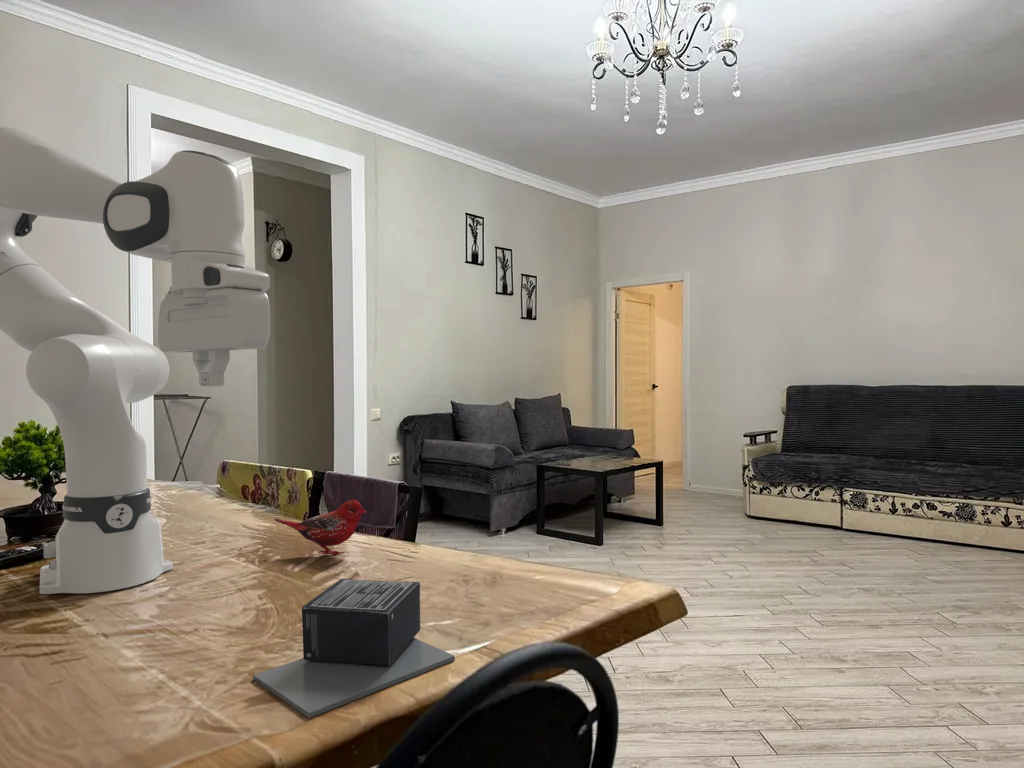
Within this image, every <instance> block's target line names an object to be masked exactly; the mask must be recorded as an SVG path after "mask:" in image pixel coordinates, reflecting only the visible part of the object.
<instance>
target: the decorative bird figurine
mask: <svg viewBox="0 0 1024 768" xmlns="http://www.w3.org/2000/svg"><path fill="white" fill-rule="evenodd" d="M363 514H367V511H366V510H365V509H364V508H363V507H362V504H361V503H360V502H359V501H358V500H355V499H351V500H348V501H345V502H343V503H342V504H341V505H340V506H339V507H337V509H335V510H334V511H331V512H328V513H323V514H320V515H316V516H312V517H311V518H308V519H305V520H303V521H301V522H296V521H292V520H291V521H290V520H285V519H280V518H274V521H276V522H278V523H280V524H283V525H285V526H287V527H290V528H293V529H294V530H296V531H297V532H298V533H299V534H300V535H301V536H302V537H303V538H304V539H305V540H308V541H311V542H312V543H315V544H317V545H319V546H320V547H321V548H322V549H324V550H320V551H319V552H318V554H320V553H322V554H323V555H333V556H337V555H341V554H346V552H344V551H340V552H339V551H337V550H332V549H330V548H329V547H333V546H339V545H340V544H343V543H344V542H345V543H346V541H348V540H349V539H350V538H351V537H352V536H353V535H354V534H355V531H356V530H357V527H358V524H359V522H360V520H361V518H362V515H363Z"/></svg>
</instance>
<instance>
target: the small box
mask: <svg viewBox="0 0 1024 768" xmlns="http://www.w3.org/2000/svg"><path fill="white" fill-rule="evenodd" d="M301 625H302V652H303V653H302V654H303V658H304V660H315V661H331V662H345V663H359V664H372V665H386V666H390V665H391V664H392V663H393V662H394V661H395V659H396V658H397V657H398V656H399V654H400V653H401V652H402V651H403V650H404V648H405V647H406V646H407V645H408V644H409V643H410V641H411V640H412V639H413V638H415V637H416V635H417V634H418V633H419V632H421V583H420V582H419V581H385V580H384V581H383V580H367V579H366V580H364V579H352V578H351V579H350V578H340V579H339V580H338V581H336V582H335V583H333V584H332V585H331V586H329V587H328V588H326V589H325V590H323V591H322V592H320V594H318V595H316V596H315V597H313V598H312V599H311V600H310V601H307V603H305V604H304V605H302V607H301Z"/></svg>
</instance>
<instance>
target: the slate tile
mask: <svg viewBox="0 0 1024 768" xmlns="http://www.w3.org/2000/svg"><path fill="white" fill-rule="evenodd" d="M455 660H456V655H454V654H452V653H450V652H447V651H445V650H442V649H441V648H439V647H435V646H433V645H431V644H429V643H426V642H424V641H422V640H420V639H417V638H415V637H414V638H413V639H412V640H411V641H410V643H409V644H408V645H407V646H406V647H405V648H404V650H403V651H402V652H401V653H400V654H399V656H398V657H397V658H396V659H395V661H394V662H393V663H392V664H391V665H390V666H386V665H372V664H359V663H345V662H331V661H315V660H304V657H303V658H299V659H297V660H293V661H291V662H288V663H285V664H281V665H279V666H275V667H273V668H269V669H266V670H263V671H260V672H257V673H255V674H252V680H253V681H255V682H256V683H258V684H259V685H261V686H262V687H263V688H264V689H267V691H269V692H270V693H272V694H274V695H275V696H276V697H278V698H279V699H280V700H281V701H283V702H285V703H287V704H288V705H289V704H290V705H289V706H290V707H293V708H294V709H295V710H296V711H298V712H300V713H301V714H302V715H304V716H305V717H307V718H308V719H311V718H314V717H316V716H319V715H321V714H324V713H326V712H328V711H331V710H333V709H336V708H339V707H340V706H344V705H346V704H349V703H351V702H354V701H356V700H358V699H361V698H363V697H366V696H368V695H371V694H373V693H377V692H379V691H381V690H384V689H385V688H388V687H391V686H394V685H396V684H399V683H400V682H404V681H406V680H408V679H411V678H414V677H416V676H419V675H421V674H423V673H425V672H428V671H431V670H434V669H436V668H438V667H441V666H443V665H446V664H449V663H450V662H454V661H455Z"/></svg>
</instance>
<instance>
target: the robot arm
mask: <svg viewBox="0 0 1024 768" xmlns="http://www.w3.org/2000/svg"><path fill="white" fill-rule="evenodd" d="M243 193H244V192H243V185H242V181H241V177H240V173H239V171H238V170H237V167H235V166H234V164H233V163H231V162H229V161H228V160H226V159H224V158H222V157H220V156H216V155H213V154H210V153H206V152H203V151H196V150H181V151H176V152H175V153H173V155H172V156H171V157H170V159H169V161H168V162H167V163H166V164H165V166H163V167H162V168H161V169H159V170H157V171H155V172H153V173H151V174H149V175H148V176H145V177H143V178H141V179H137V180H135V181H132V180H131V181H130V180H129V181H126V182H120V181H118V180H116V179H114V178H112V177H110V176H109V175H107V174H106V173H103V172H101V171H99V170H98V169H96V168H94V167H91V166H90V165H88V164H86V163H85V162H83V161H81V160H79V159H78V158H75V157H74V156H72V155H70V154H69V153H67V152H65V151H63V150H61V149H59V148H58V147H56V146H54V145H53V144H50V143H48V142H46V141H44V140H42V139H40V138H38V137H36V136H35V135H31V134H29V133H27V132H24V131H22V130H18V129H16V128H13V127H9V126H5V125H1V124H0V330H2V332H4V333H5V334H6V335H7V336H8V337H9V338H10V339H11V340H12V341H14V343H16V344H17V345H18V346H19V347H21V348H23V349H25V350H27V351H29V352H30V355H29V356H28V358H27V362H26V369H25V371H26V372H25V373H26V379H27V382H28V385H29V387H30V388H31V390H32V391H33V392H34V394H36V395H37V396H38V397H39V398H40V399H41V400H42V401H44V402H45V403H46V405H47V406H48V408H49V409H50V412H52V415H53V417H54V420H55V421H56V424H57V427H58V429H59V432H60V435H61V438H62V443H63V448H64V449H63V450H64V459H65V460H64V461H65V478H66V494H65V496H63V503H62V507H61V508H62V517H63V519H64V520H63V522H62V524H61V525H60V527H59V530H58V531H57V533H56V536H55V540H54V541H52V540H51V541H49V542H48V543H44V544H43V547H42V548H43V559H46V560H47V559H51V558H55V560H49V562H48V564H46V565H43V566H41V567H40V572H39V594H40V595H52V594H53V595H54V594H93V593H103V592H111V591H116V590H121V589H127V588H132V587H135V586H139V585H141V584H145V583H147V582H150V581H152V580H154V579H156V578H158V577H159V576H161V575H162V574H163V573H165V572H168V571H171V570H172V569H174V566H173V561H171V560H169V559H168V560H167V559H165V558H164V552H163V551H164V550H163V549H164V548H163V547H164V546H163V538H162V527H161V522H160V520H158V519H157V518H155V517H154V516H152V514H151V512H150V511H151V510H152V504H151V502H152V496H151V489H150V488H149V487H148V479H147V477H148V475H147V474H148V472H147V444H146V441H145V439H144V437H143V436H142V435H141V434H140V433H139V432H138V431H137V430H136V428H135V426H134V425H133V422H132V419H131V417H130V414H129V410H128V406H127V404H131V403H132V404H134V403H138V402H141V401H144V400H146V399H148V398H150V397H153V396H154V395H156V394H158V393H159V392H161V390H163V389H164V387H165V386H166V385H167V383H168V380H169V377H170V363H169V360H168V358H167V356H166V354H165V353H180V354H181V353H183V354H184V353H192V362H193V363H194V366H195V368H196V371H197V373H198V385H199V386H201V387H223V386H224V384H225V372H226V370H227V367H228V365H229V362H230V359H231V357H230V355H231V353H230V351H239V350H242V351H243V350H259V349H265V348H266V346H267V345H268V343H269V340H270V335H271V309H270V308H271V307H270V300H269V297H268V294H267V293H266V292H267V291H268V290H269V289H270V286H271V278H270V275H269V274H268V273H267V272H263V271H261V270H258V269H255V268H252V267H250V266H246V254H245V250H244V247H243V243H242V240H243V233H244V230H245V203H244V201H245V200H244V194H243ZM38 216H39V217H48V218H54V219H55V218H56V219H64V220H72V221H73V220H74V221H78V222H87V223H88V222H89V223H95V224H103V228H104V231H105V233H106V236H107V238H108V239H109V241H110V242H111V243H112V244H113V246H114V247H116V248H117V249H118V250H120V251H123V252H125V253H127V254H131V255H133V256H134V255H135V256H138V257H143V258H147V259H151V260H152V259H153V260H157V261H162V262H165V263H166V262H167V263H170V264H171V265H170V266H171V269H170V270H171V276H170V277H171V286H170V287H169V289H168V291H167V294H165V296H164V298H163V299H162V301H161V303H160V307H159V313H158V321H157V322H158V324H157V345H158V347H157V346H155V345H154V344H151V343H149V342H147V341H146V340H143V339H142V338H140V337H138V336H137V335H135V334H134V333H132V332H130V331H129V330H127V329H126V328H125V327H124V326H121V325H120V324H118V323H117V322H115V321H114V320H112V319H111V318H109V317H108V316H106V315H105V314H103V313H101V312H100V311H98V310H96V309H95V308H93V307H92V306H90V305H89V304H88V303H85V302H84V300H81V299H80V298H79V297H78V296H76V295H75V294H74V293H73V292H71V290H69V289H68V288H67V287H66V286H65V285H63V284H62V283H61V282H60V281H59V280H58V279H56V278H55V277H54V276H53V275H52V274H50V273H49V272H48V271H47V270H46V269H45V268H44V267H43V266H41V265H40V264H39V262H37V261H36V260H35V259H33V258H32V257H31V256H29V255H28V254H27V253H26V252H25V251H24V250H23V249H22V248H21V247H20V245H19V243H18V241H17V238H18V237H19V238H23V237H25V236H27V235H29V234H30V233H31V232H32V231H33V223H34V221H36V219H37V218H38ZM16 237H17V238H16Z"/></svg>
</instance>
